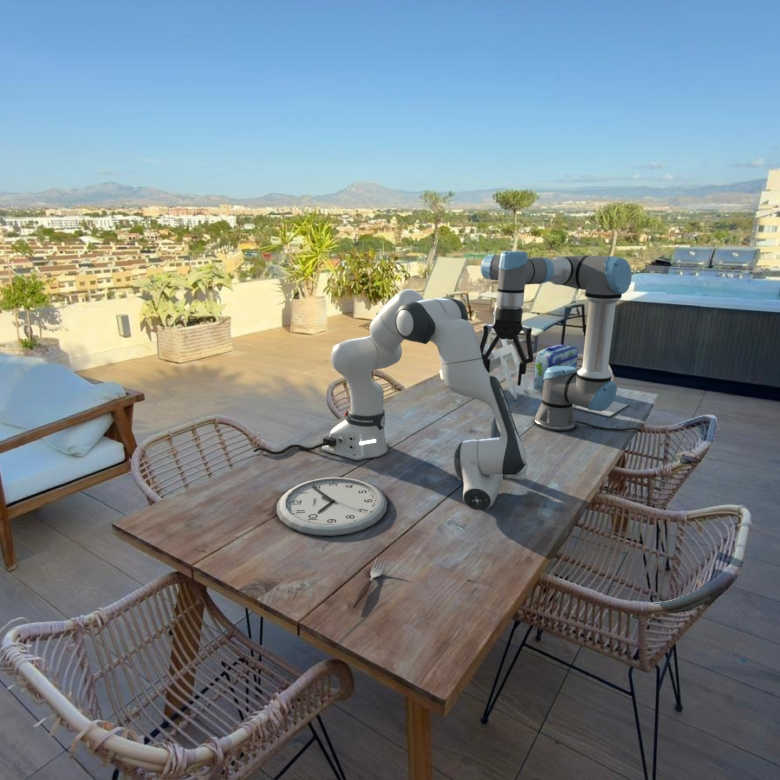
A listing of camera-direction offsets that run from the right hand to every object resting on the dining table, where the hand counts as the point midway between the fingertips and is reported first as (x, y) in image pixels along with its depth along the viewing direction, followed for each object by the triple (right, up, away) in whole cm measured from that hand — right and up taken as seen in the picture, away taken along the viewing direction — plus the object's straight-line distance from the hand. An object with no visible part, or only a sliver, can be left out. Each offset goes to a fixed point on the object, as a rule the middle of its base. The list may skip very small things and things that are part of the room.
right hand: (502, 382), depth 156 cm
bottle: (-1, -28, +9) cm, 29 cm away
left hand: (-1, -22, +5) cm, 23 cm away
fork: (-38, -44, -45) cm, 74 cm away
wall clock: (-50, -34, -13) cm, 61 cm away
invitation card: (+58, -10, +70) cm, 91 cm away
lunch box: (+44, -2, +94) cm, 104 cm away
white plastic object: (+8, -3, +87) cm, 88 cm away
